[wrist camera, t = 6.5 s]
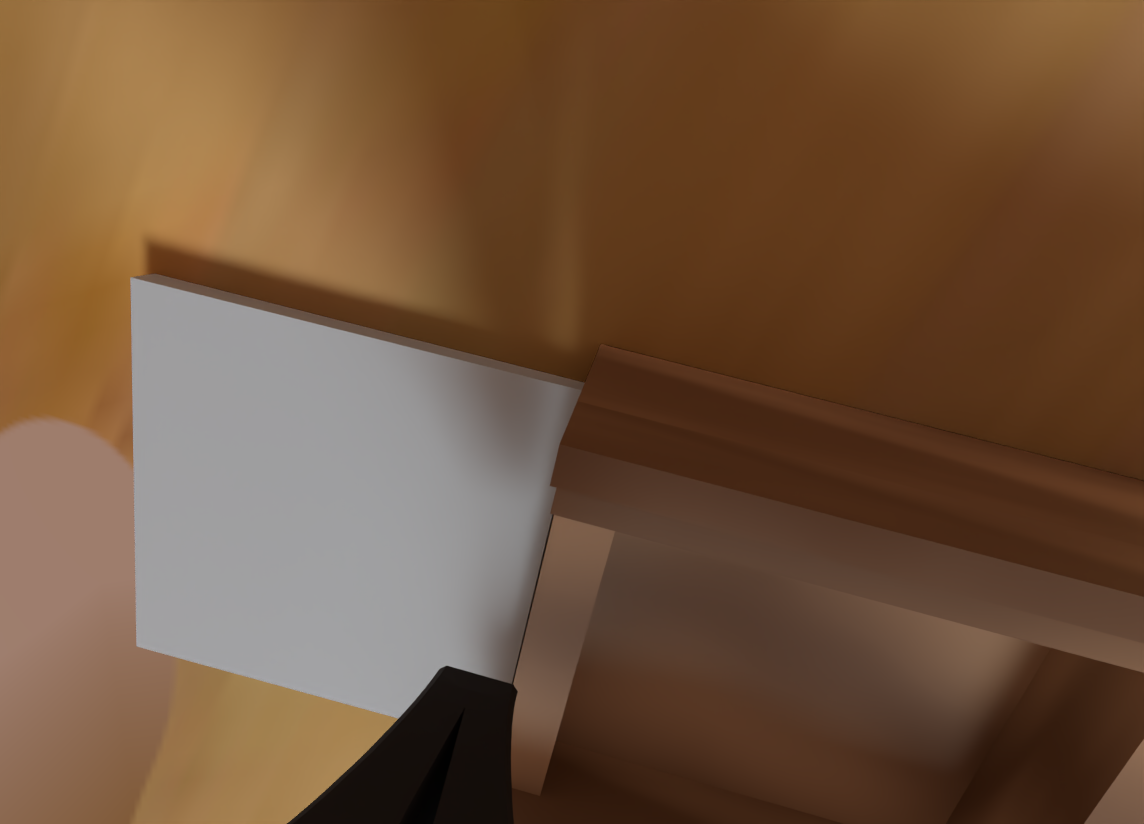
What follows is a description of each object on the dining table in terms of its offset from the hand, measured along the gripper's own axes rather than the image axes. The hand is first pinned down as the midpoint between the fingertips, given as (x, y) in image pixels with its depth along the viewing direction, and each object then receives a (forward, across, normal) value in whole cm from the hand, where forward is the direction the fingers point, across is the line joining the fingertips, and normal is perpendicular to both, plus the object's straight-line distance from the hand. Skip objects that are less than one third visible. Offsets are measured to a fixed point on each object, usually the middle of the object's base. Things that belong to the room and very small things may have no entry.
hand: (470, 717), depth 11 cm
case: (+5, -6, 0) cm, 8 cm away
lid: (+6, +5, 0) cm, 7 cm away
